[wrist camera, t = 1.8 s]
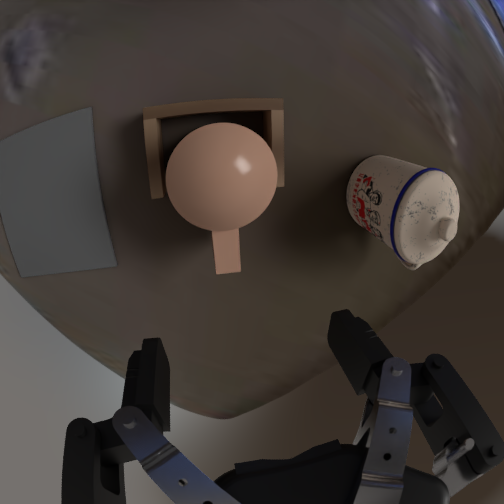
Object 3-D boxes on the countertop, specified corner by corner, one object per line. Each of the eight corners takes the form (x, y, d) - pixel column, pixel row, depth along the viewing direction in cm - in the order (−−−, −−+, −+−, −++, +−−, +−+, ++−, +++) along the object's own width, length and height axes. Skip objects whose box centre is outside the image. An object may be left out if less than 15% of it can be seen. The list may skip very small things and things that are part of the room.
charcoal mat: (-9, 146, 16) (-11, 146, 16) (92, 106, 18) (90, 106, 18) (22, 275, 23) (21, 277, 23) (117, 264, 26) (116, 266, 25)
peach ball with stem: (173, 128, 21) (160, 128, 14) (251, 122, 22) (276, 120, 15) (184, 237, 26) (181, 282, 19) (255, 230, 27) (276, 270, 20)
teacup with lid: (334, 166, 25) (411, 198, 15) (398, 144, 25) (479, 166, 15) (354, 261, 31) (412, 319, 21) (409, 232, 31) (472, 276, 21)
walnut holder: (149, 110, 20) (142, 108, 17) (273, 101, 22) (283, 98, 19) (156, 190, 23) (151, 199, 21) (274, 179, 25) (284, 186, 22)
